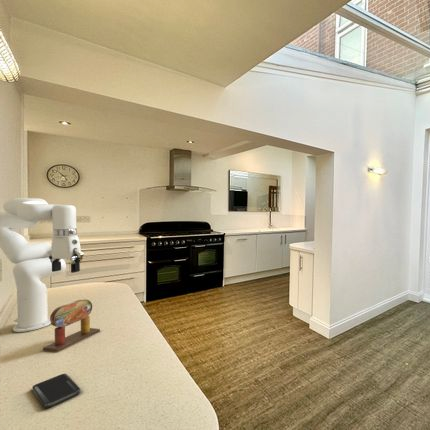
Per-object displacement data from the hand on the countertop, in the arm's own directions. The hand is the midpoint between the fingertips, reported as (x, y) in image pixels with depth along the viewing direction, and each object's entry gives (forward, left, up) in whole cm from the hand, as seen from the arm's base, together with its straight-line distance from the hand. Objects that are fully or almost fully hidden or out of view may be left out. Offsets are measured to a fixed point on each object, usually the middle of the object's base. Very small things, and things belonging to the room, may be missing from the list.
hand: (66, 271), depth 116 cm
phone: (+36, -31, -28) cm, 55 cm away
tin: (+8, -4, -21) cm, 22 cm away
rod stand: (+8, -4, -28) cm, 30 cm away
